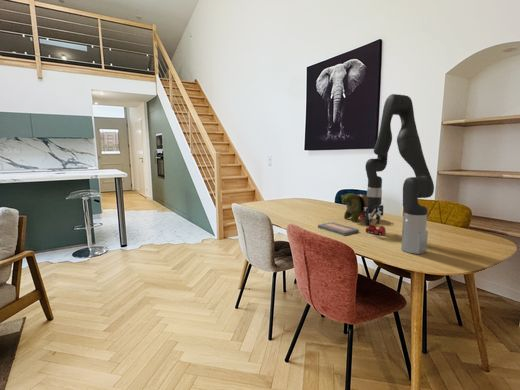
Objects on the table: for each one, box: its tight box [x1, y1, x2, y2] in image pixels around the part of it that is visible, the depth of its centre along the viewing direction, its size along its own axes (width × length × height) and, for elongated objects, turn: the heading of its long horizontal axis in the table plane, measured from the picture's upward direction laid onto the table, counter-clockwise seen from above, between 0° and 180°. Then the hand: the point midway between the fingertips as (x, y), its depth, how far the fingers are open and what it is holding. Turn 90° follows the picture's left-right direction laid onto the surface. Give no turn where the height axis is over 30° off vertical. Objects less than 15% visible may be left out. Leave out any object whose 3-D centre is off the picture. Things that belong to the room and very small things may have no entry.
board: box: [317, 221, 360, 236], centre depth 163 cm, size 20×12×2 cm, turn 32°
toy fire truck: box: [359, 214, 386, 236], centre depth 155 cm, size 3×14×10 cm, turn 47°
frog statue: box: [340, 192, 376, 223], centre depth 185 cm, size 19×16×25 cm
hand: (372, 224), depth 155 cm, fingers open, 8 cm apart
